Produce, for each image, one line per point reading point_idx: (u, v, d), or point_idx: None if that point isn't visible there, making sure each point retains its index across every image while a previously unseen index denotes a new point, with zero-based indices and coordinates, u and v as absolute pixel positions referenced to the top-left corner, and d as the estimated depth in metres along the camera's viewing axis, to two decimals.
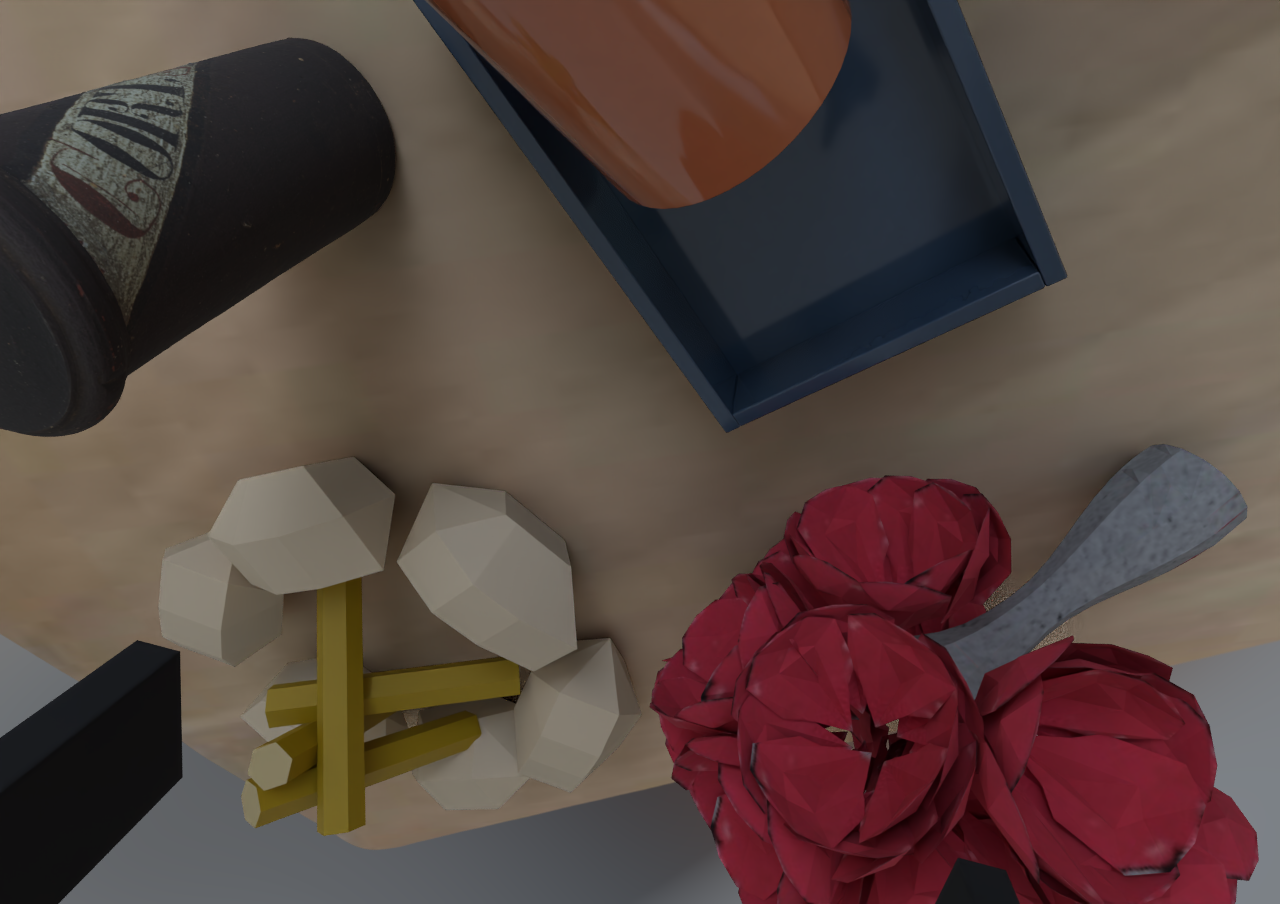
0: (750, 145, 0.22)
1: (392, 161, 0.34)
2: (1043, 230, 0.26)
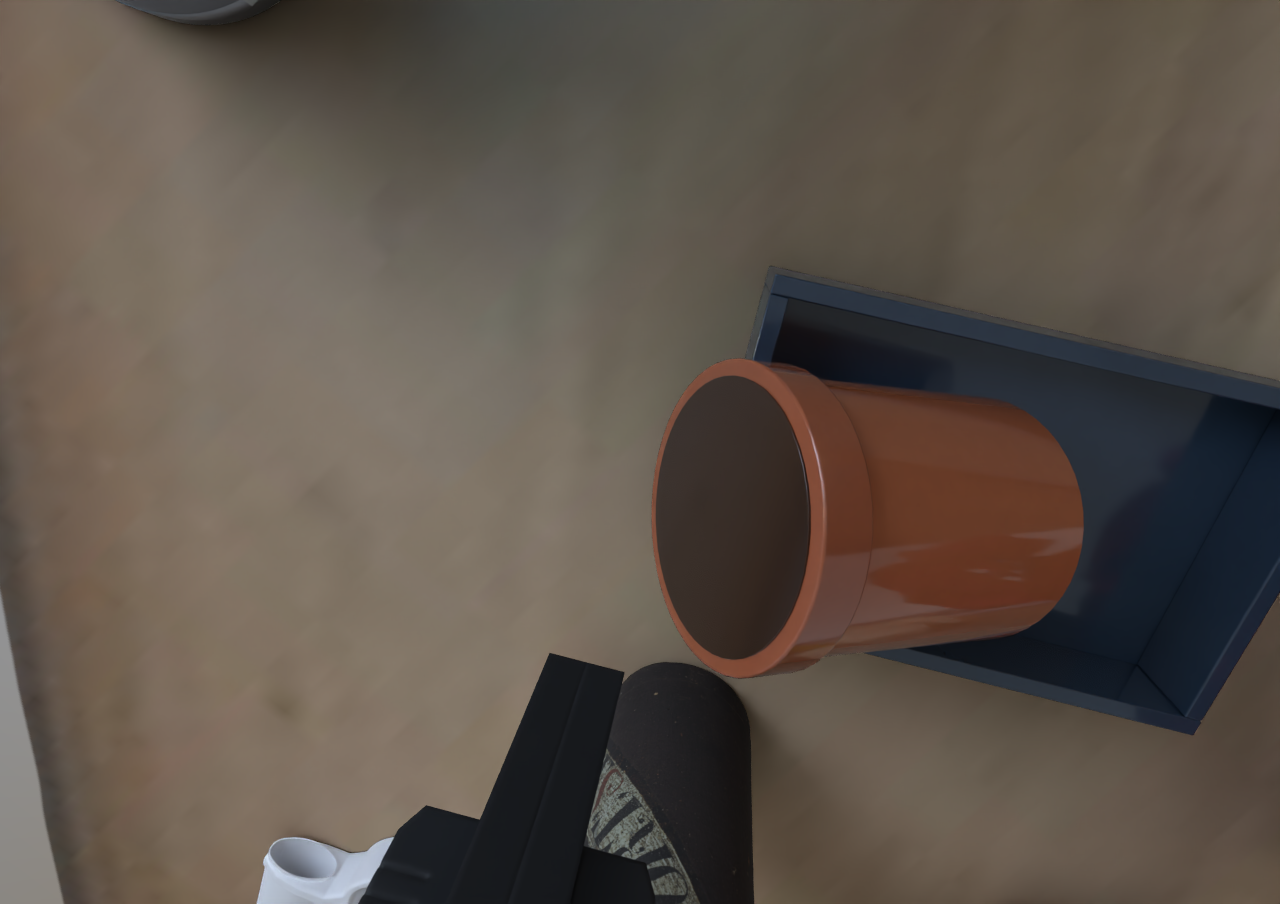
0: (1060, 562, 0.24)
1: (740, 704, 0.39)
2: None
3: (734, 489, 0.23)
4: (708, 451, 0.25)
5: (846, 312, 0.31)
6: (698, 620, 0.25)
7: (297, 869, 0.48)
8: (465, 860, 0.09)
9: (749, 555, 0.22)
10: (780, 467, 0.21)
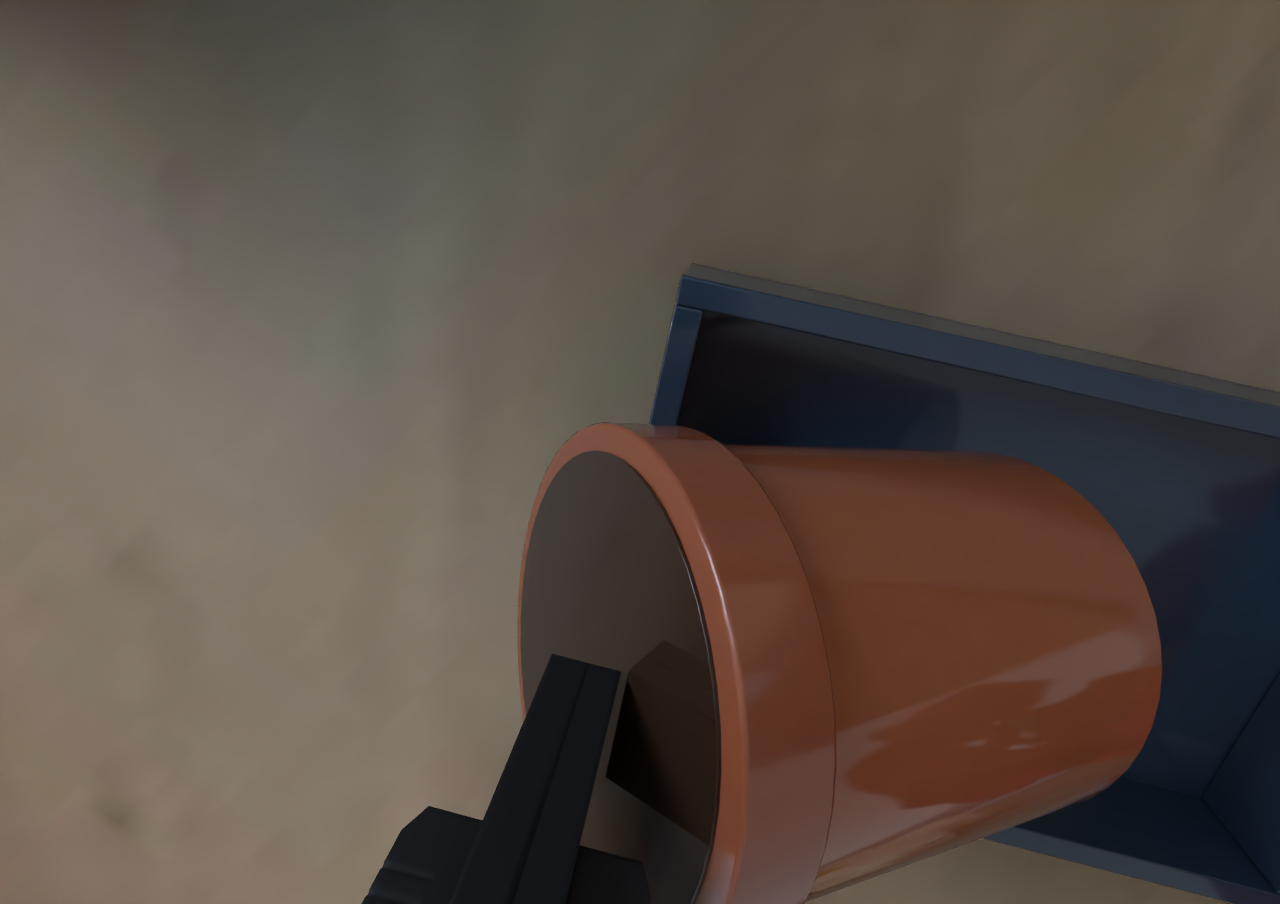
0: (1129, 729, 0.16)
1: None
2: None
3: (610, 644, 0.14)
4: (577, 567, 0.16)
5: None
6: None
7: None
8: (468, 861, 0.09)
9: (632, 765, 0.13)
10: (672, 633, 0.12)
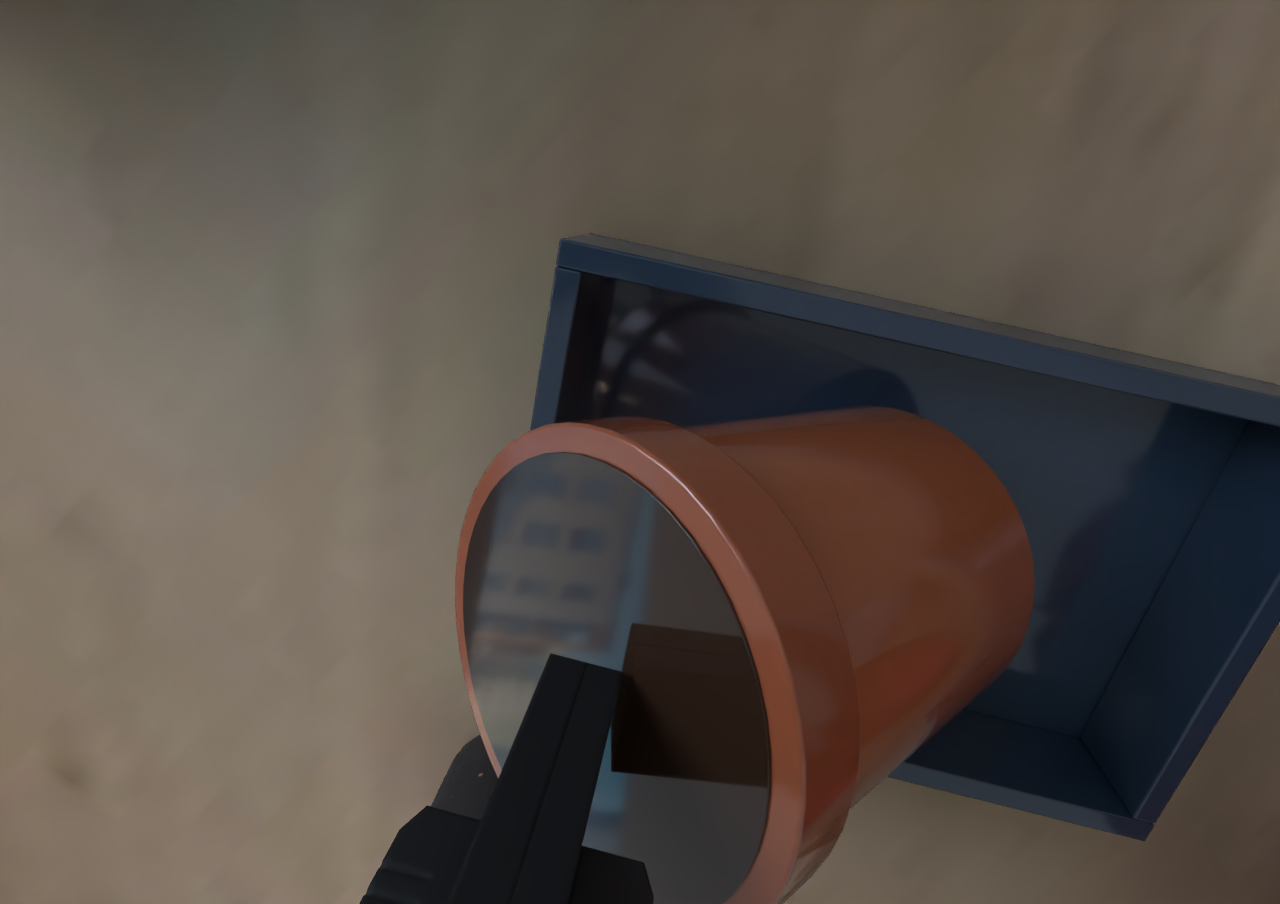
0: (1016, 631, 0.19)
1: None
2: None
3: (605, 646, 0.14)
4: (548, 572, 0.15)
5: None
6: None
7: None
8: (466, 860, 0.09)
9: (648, 759, 0.13)
10: (695, 630, 0.12)
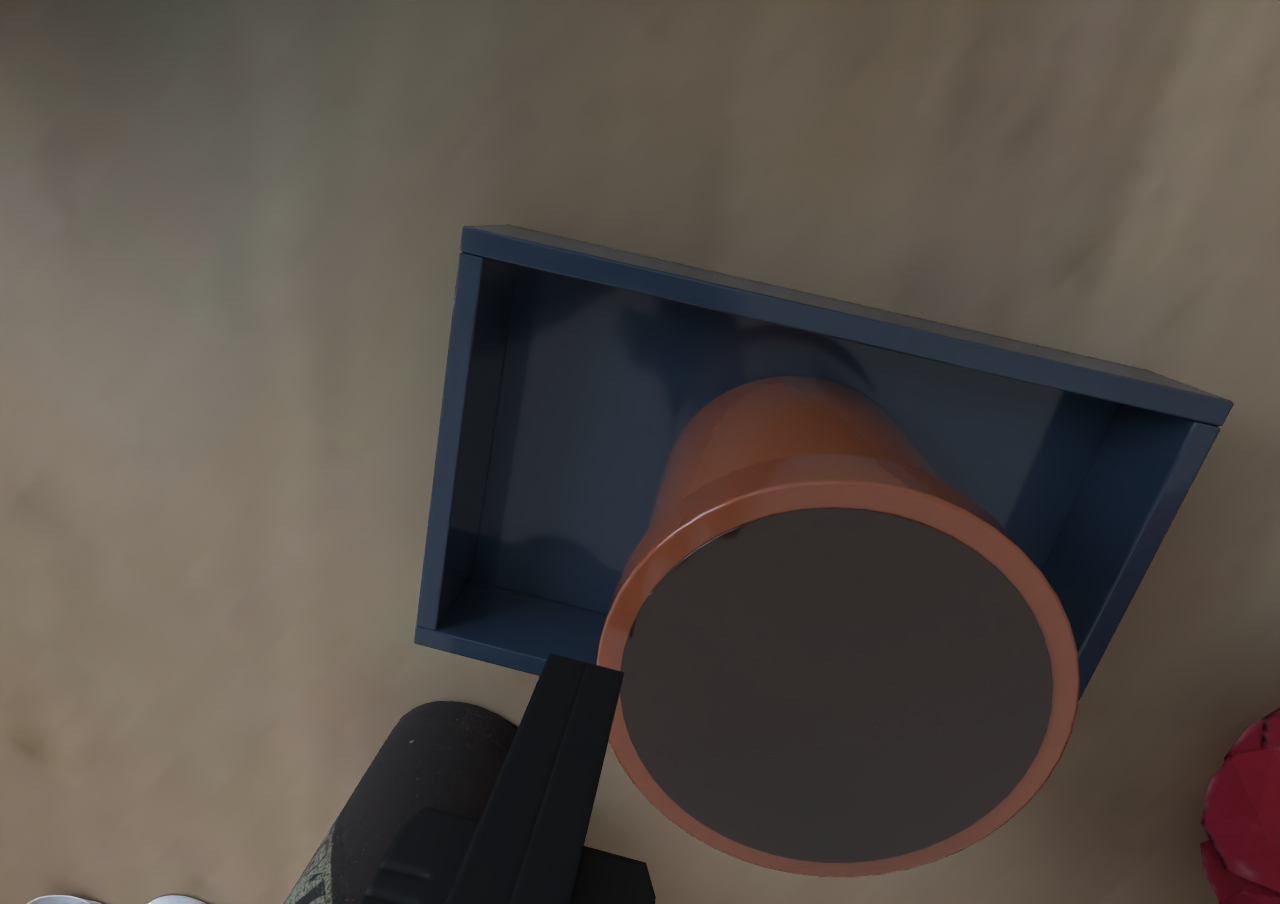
0: None
1: None
2: (1153, 390, 0.21)
3: (865, 664, 0.16)
4: (778, 623, 0.15)
5: None
6: (801, 835, 0.17)
7: None
8: (465, 860, 0.09)
9: (915, 735, 0.16)
10: (980, 621, 0.15)
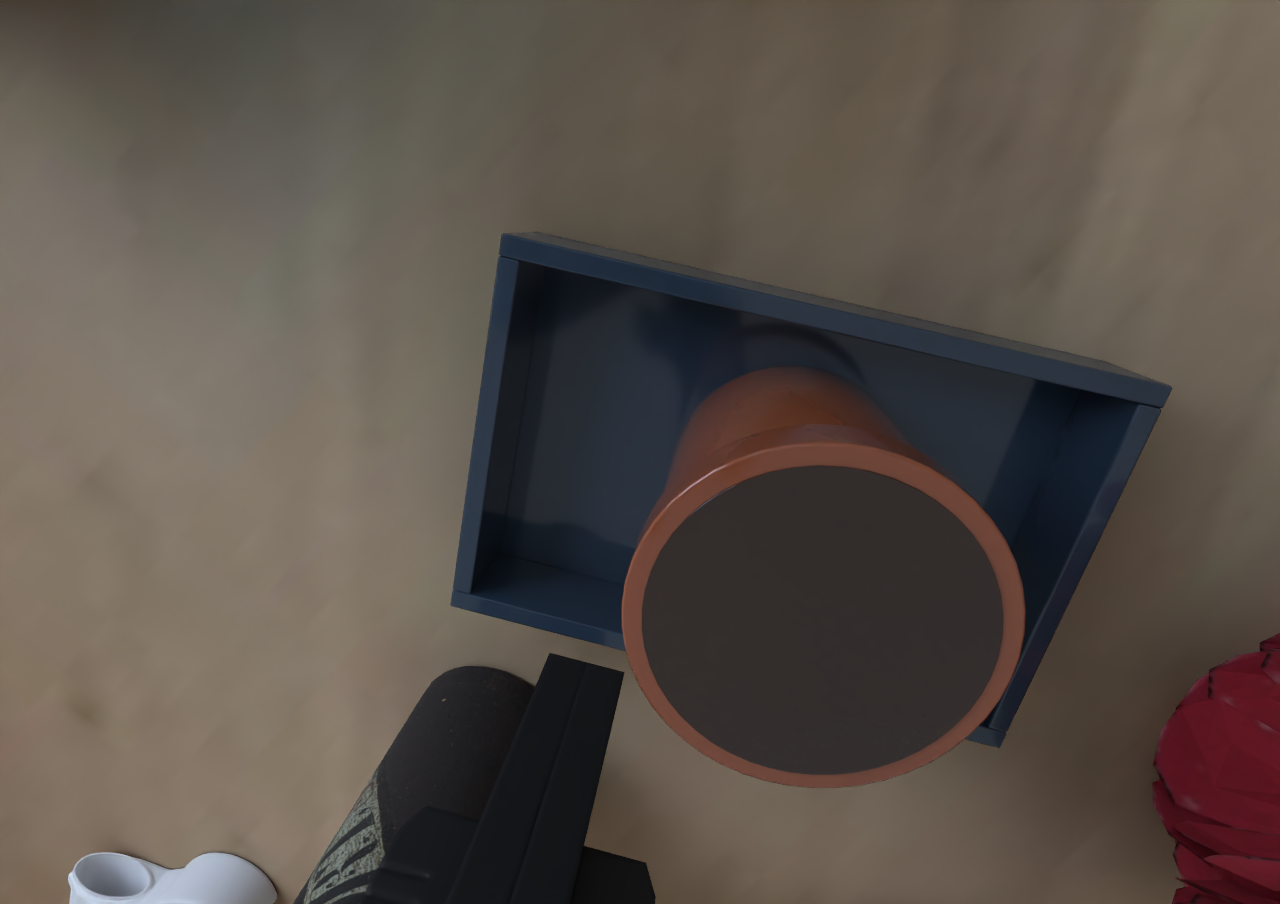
0: None
1: None
2: (1102, 376, 0.24)
3: (847, 599, 0.19)
4: (774, 564, 0.19)
5: None
6: (794, 750, 0.20)
7: (115, 886, 0.45)
8: (465, 860, 0.09)
9: (890, 660, 0.19)
10: (942, 560, 0.18)
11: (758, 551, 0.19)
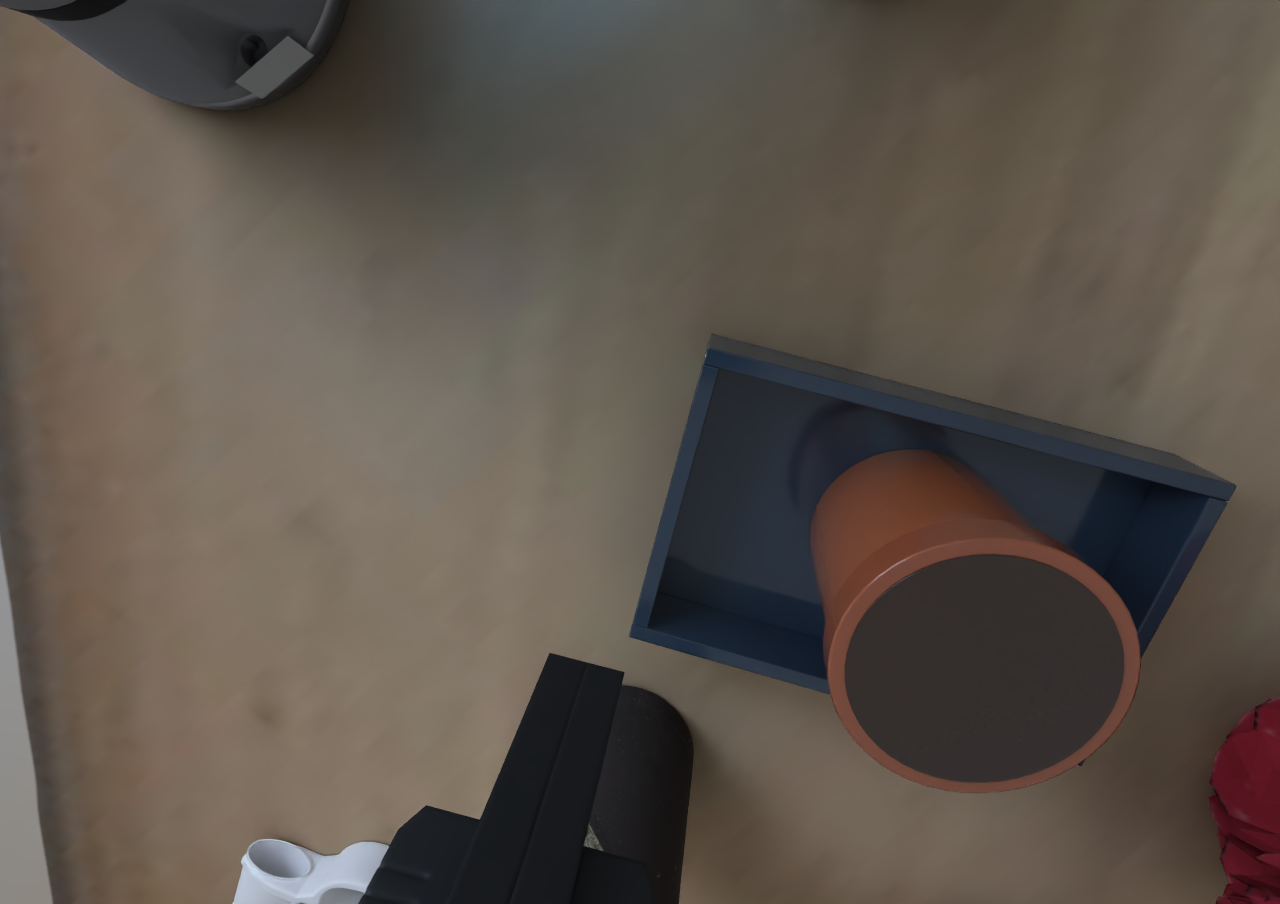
0: None
1: (684, 726, 0.42)
2: (1182, 475, 0.30)
3: (1007, 651, 0.25)
4: (953, 624, 0.25)
5: None
6: (954, 763, 0.27)
7: (273, 869, 0.51)
8: (465, 860, 0.09)
9: (1034, 697, 0.26)
10: (1081, 626, 0.24)
11: (942, 614, 0.25)
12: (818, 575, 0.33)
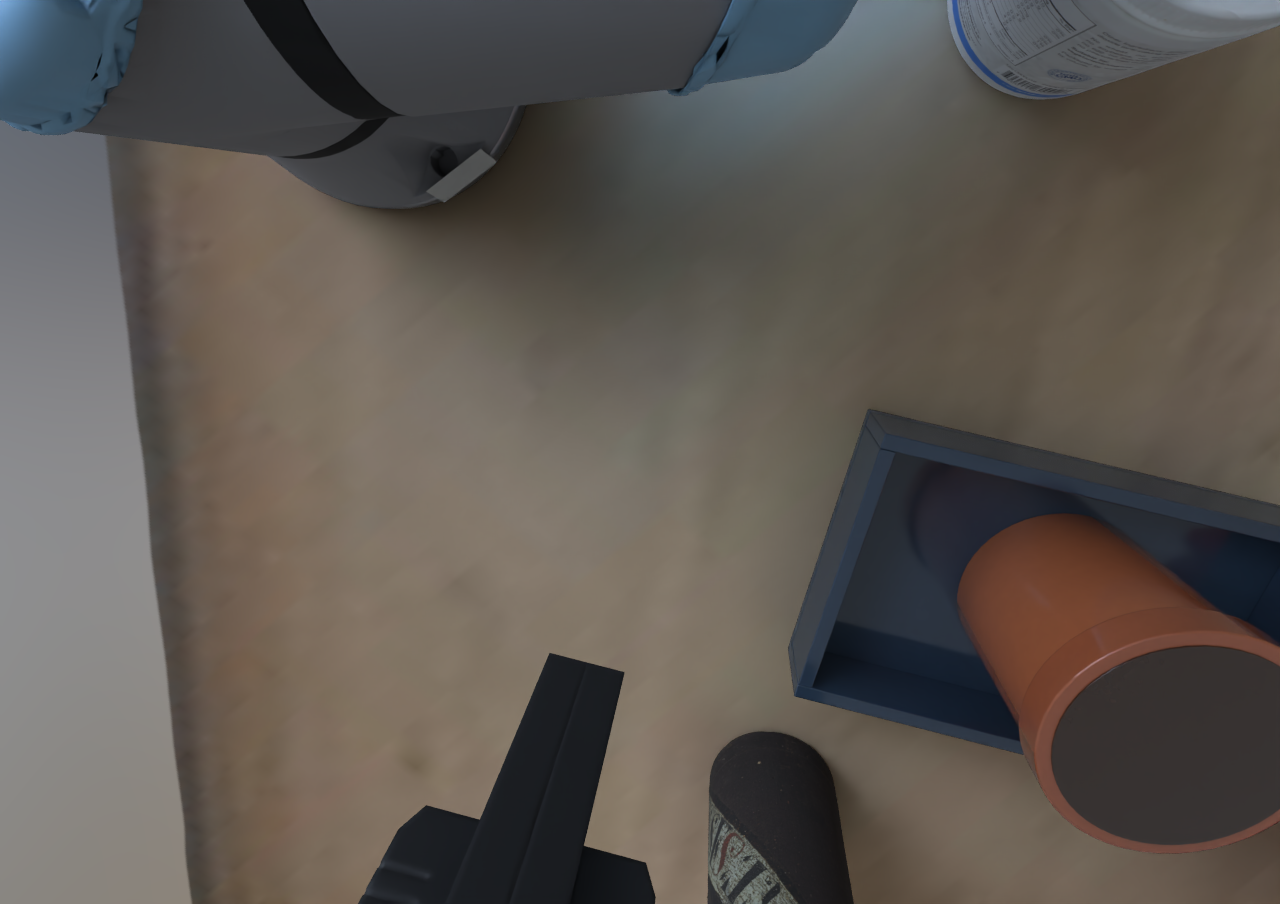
0: None
1: (827, 768, 0.45)
2: None
3: (1209, 730, 0.27)
4: (1160, 706, 0.27)
5: None
6: (1150, 828, 0.29)
7: None
8: (465, 860, 0.09)
9: (1232, 769, 0.28)
10: None
11: (1150, 698, 0.27)
12: (985, 640, 0.35)
